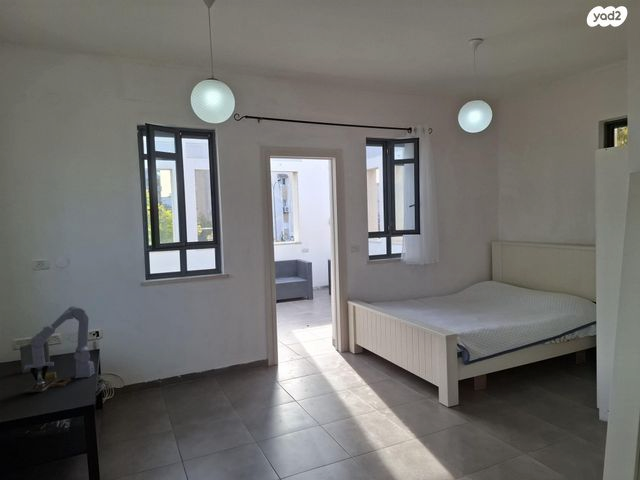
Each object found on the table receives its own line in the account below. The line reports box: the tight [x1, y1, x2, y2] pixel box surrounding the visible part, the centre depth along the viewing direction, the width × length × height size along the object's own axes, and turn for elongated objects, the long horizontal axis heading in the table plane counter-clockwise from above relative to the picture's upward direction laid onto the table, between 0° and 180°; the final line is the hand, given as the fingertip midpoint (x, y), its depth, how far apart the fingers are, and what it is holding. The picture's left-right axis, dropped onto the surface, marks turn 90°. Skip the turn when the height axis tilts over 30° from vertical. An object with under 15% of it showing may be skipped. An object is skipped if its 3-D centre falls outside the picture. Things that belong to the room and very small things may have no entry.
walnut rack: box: [50, 378, 72, 388], centre depth 253 cm, size 8×8×2 cm
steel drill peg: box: [36, 371, 45, 385], centre depth 249 cm, size 4×4×7 cm
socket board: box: [34, 380, 55, 392], centre depth 249 cm, size 9×12×2 cm
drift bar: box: [22, 371, 58, 394], centre depth 249 cm, size 20×8×4 cm, turn 4°
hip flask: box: [19, 340, 51, 374], centre depth 284 cm, size 16×4×20 cm, turn 132°
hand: (40, 379), depth 249 cm, fingers closed on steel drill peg, 3 cm apart
